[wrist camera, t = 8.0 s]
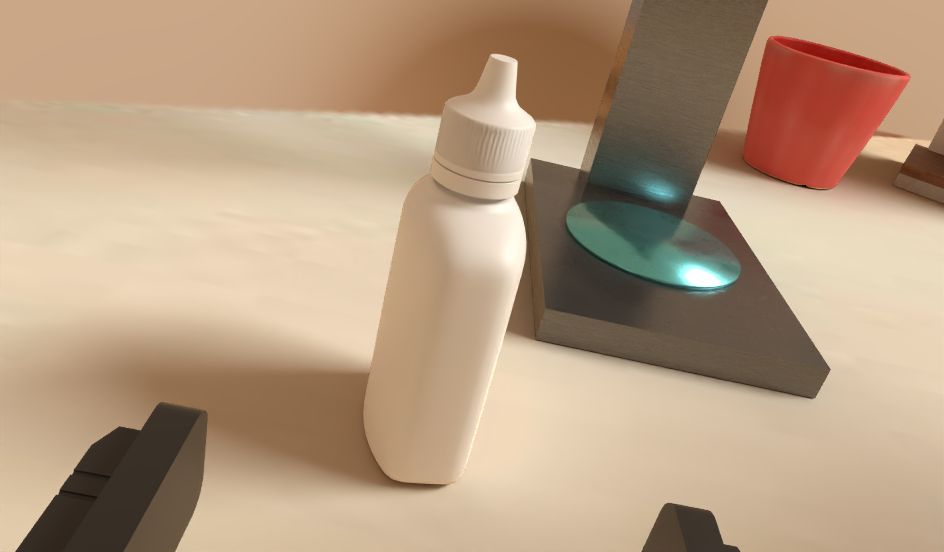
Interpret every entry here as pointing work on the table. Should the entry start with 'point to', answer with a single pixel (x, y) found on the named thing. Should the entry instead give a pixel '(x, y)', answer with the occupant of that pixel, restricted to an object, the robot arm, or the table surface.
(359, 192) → the table surface
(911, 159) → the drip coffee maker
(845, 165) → the flower pot
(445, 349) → the eye dropper bottle
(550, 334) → the arbor press
